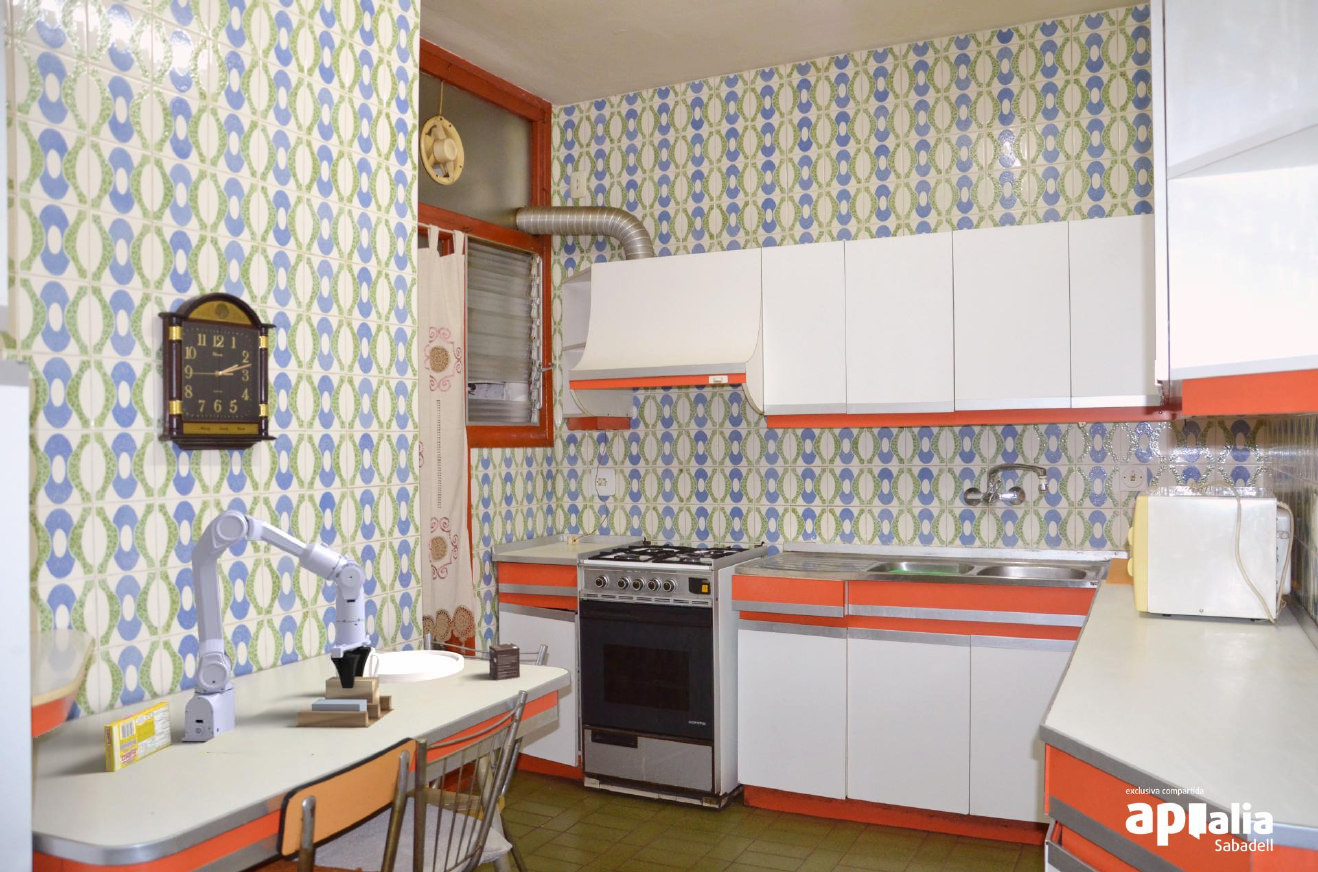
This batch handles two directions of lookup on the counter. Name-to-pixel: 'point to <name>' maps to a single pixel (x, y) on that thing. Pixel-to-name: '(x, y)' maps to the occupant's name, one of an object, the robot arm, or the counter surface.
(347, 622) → the robot arm
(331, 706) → the blue slat
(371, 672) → the mug
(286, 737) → the counter surface
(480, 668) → the counter surface
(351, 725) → the rack
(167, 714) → the candy box
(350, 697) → the wooden block
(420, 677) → the plate
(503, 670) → the box
